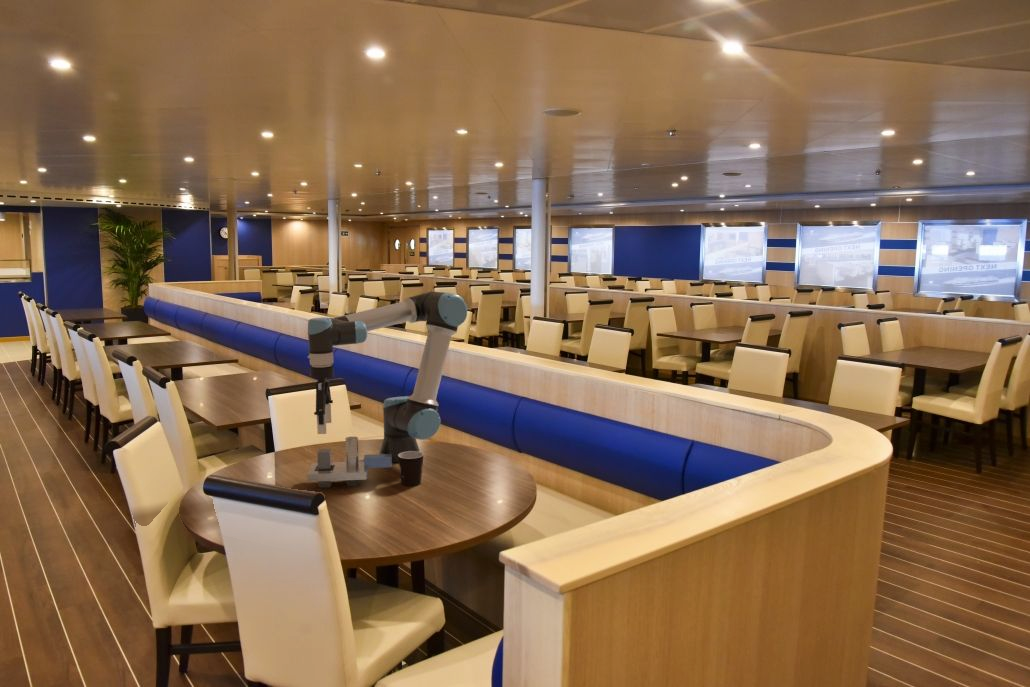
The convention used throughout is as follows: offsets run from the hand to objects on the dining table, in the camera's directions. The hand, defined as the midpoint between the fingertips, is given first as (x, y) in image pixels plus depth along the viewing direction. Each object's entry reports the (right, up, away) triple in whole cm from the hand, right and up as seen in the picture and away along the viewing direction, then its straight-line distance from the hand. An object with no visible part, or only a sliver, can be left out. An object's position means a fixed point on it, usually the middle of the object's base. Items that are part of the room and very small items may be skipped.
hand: (324, 428), depth 232 cm
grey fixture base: (+8, -19, +4) cm, 21 cm away
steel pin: (0, -19, +2) cm, 20 cm away
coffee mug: (+28, -19, +7) cm, 35 cm away
